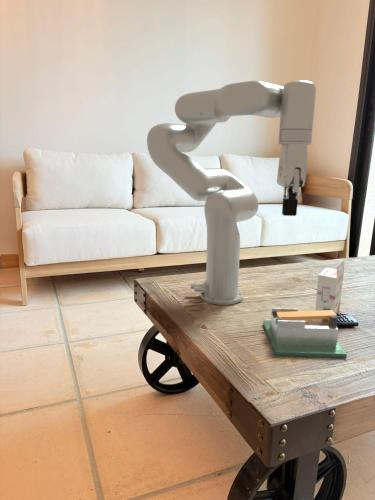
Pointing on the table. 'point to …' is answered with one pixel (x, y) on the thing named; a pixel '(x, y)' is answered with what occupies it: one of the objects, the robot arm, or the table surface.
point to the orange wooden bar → (306, 315)
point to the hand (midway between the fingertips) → (289, 215)
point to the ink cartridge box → (330, 288)
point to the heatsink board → (304, 348)
